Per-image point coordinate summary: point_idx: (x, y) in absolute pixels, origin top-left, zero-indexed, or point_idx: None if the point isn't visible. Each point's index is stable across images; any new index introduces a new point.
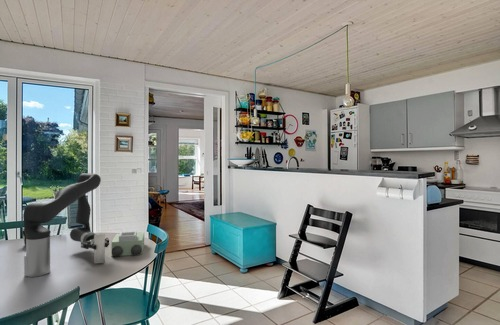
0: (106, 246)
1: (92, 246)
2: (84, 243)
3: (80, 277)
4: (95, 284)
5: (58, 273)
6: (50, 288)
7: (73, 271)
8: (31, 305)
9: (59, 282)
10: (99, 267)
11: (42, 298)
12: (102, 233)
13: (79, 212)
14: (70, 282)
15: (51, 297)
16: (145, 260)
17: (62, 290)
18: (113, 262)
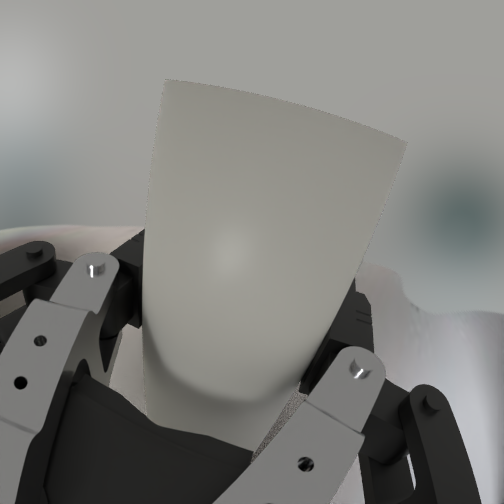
0: None
1: (367, 317)
2: (468, 478)
3: (399, 358)
4: (368, 275)
5: None
6: (486, 359)
7: (409, 464)
8: (499, 316)
9: (469, 380)
10: None
11: (489, 324)
12: (171, 80)
13: None
14: (437, 349)
15: (473, 312)
16: (69, 235)
17: (455, 321)
18: (129, 360)
